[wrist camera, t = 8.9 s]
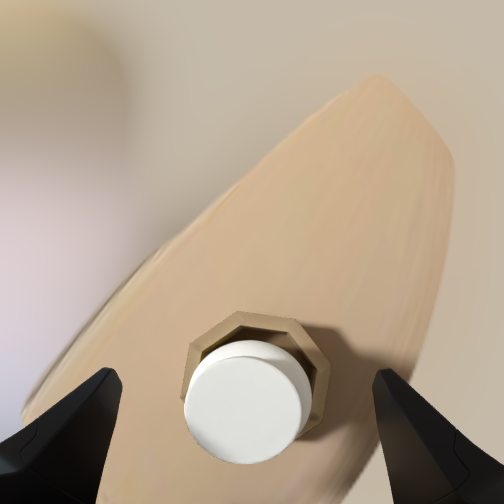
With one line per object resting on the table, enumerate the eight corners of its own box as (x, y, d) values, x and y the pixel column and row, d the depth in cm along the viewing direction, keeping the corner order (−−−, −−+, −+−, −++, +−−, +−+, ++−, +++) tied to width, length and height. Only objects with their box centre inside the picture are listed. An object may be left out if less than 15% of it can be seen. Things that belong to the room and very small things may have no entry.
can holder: (308, 442, 16) (313, 457, 13) (189, 422, 17) (175, 433, 14) (327, 328, 19) (337, 323, 16) (208, 311, 20) (197, 303, 17)
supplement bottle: (217, 344, 18) (163, 333, 9) (298, 342, 18) (323, 332, 9) (217, 420, 16) (167, 473, 7) (298, 420, 16) (321, 478, 7)
